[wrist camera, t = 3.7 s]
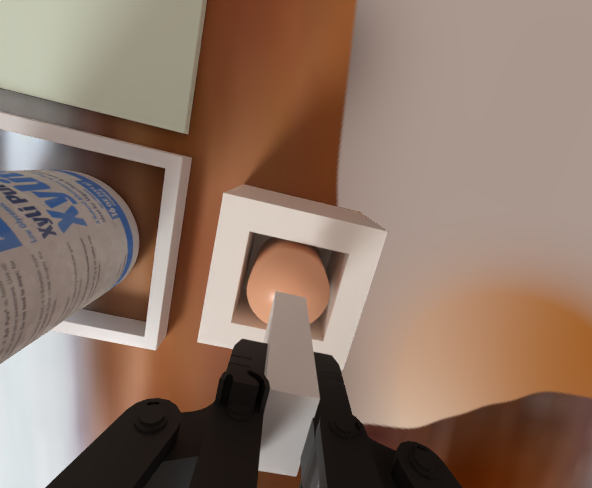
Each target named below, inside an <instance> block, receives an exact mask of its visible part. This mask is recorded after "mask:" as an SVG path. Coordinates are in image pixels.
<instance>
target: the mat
mask: <svg viewBox="0 0 592 488" xmlns="http://www.w3.org/2000/svg"><path fill="white" fill-rule="evenodd" d="M206 4H207V0H0V88H3V89H7V90H11V91H15V92H19V93H23V94H27V95H31V96H35V97H39V98H43V99H47V100H51V101H55V102H59V103H63V104H67V105H71V106H75V107H79V108H83V109H87V110H91V111H95V112H99V113H103V114H107V115H111V116H115V117H119V118H123V119H127V120H131V121H135V122H139V123H144V124H148V125H152V126H156V127H160V128H164V129H168V130H172V131H176V132H180V133H184V134H188V133H189V126H190V119H191V111H192V104H193V97H194V90H195V83H196V76H197V69H198V61H199V54H200V47H201V40H202V33H203V26H204V19H205V11H206Z"/></svg>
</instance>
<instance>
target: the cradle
mask: <svg viewBox="0 0 592 488" xmlns="http://www.w3.org/2000/svg"><path fill="white" fill-rule="evenodd" d="M0 129H2V130H6V131H10V132H15V133H19V134H23V135H27V136H31V137H36V138H40V139H44V140H48V141H52V142H56V143H61V144H65V145H69V146H73V147H77V148H82V149H86V150H90V151H94V152H98V153H103V154H107V155H111V156H115V157H119V158H124V159H128V160H132V161H136V162H140V163H145V164H149V165H153V166H157V167H161V168H165V176H164V184H163V192H162V200H161V208H160V216H159V224H158V232H157V240H156V248H155V256H154V264H153V272H152V280H151V288H150V296H149V304H148V312H147V320H146V322H145V321H140V320H135V319H130V318H125V317H120V316H114V315H109V314H104V313H99V312H94V311H89V310H84V309H81V310H79V311H78V312H76V313H75V314H73V315H72V316H70V317H69V318H67V319H66V320H64V321H63V322H62V323H60V324H59V325H57V326H56V327H54V328H53V329H51V330H52V331H57V332H62V333H67V334H73V335H78V336H83V337H88V338H93V339H99V340H104V341H109V342H114V343H120V344H125V345H130V346H135V347H140V348H146V349H151V350H157V348H158V347H159V345H160V344H161V343H162V341H163V340H164V339H165V337H166V334H167V327H168V320H169V313H170V306H171V299H172V293H173V286H174V279H175V272H176V265H177V258H178V251H179V244H180V238H181V231H182V224H183V217H184V210H185V203H186V196H187V190H188V183H189V176H190V169H191V162H192V157H188V156H183V155H179V154H175V153H171V152H167V151H163V150H159V149H155V148H150V147H146V146H142V145H138V144H134V143H130V142H126V141H122V140H118V139H113V138H109V137H105V136H101V135H97V134H93V133H89V132H85V131H80V130H76V129H72V128H68V127H64V126H60V125H56V124H52V123H48V122H43V121H39V120H35V119H31V118H27V117H23V116H19V115H15V114H10V113H6V112H2V111H0Z"/></svg>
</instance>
